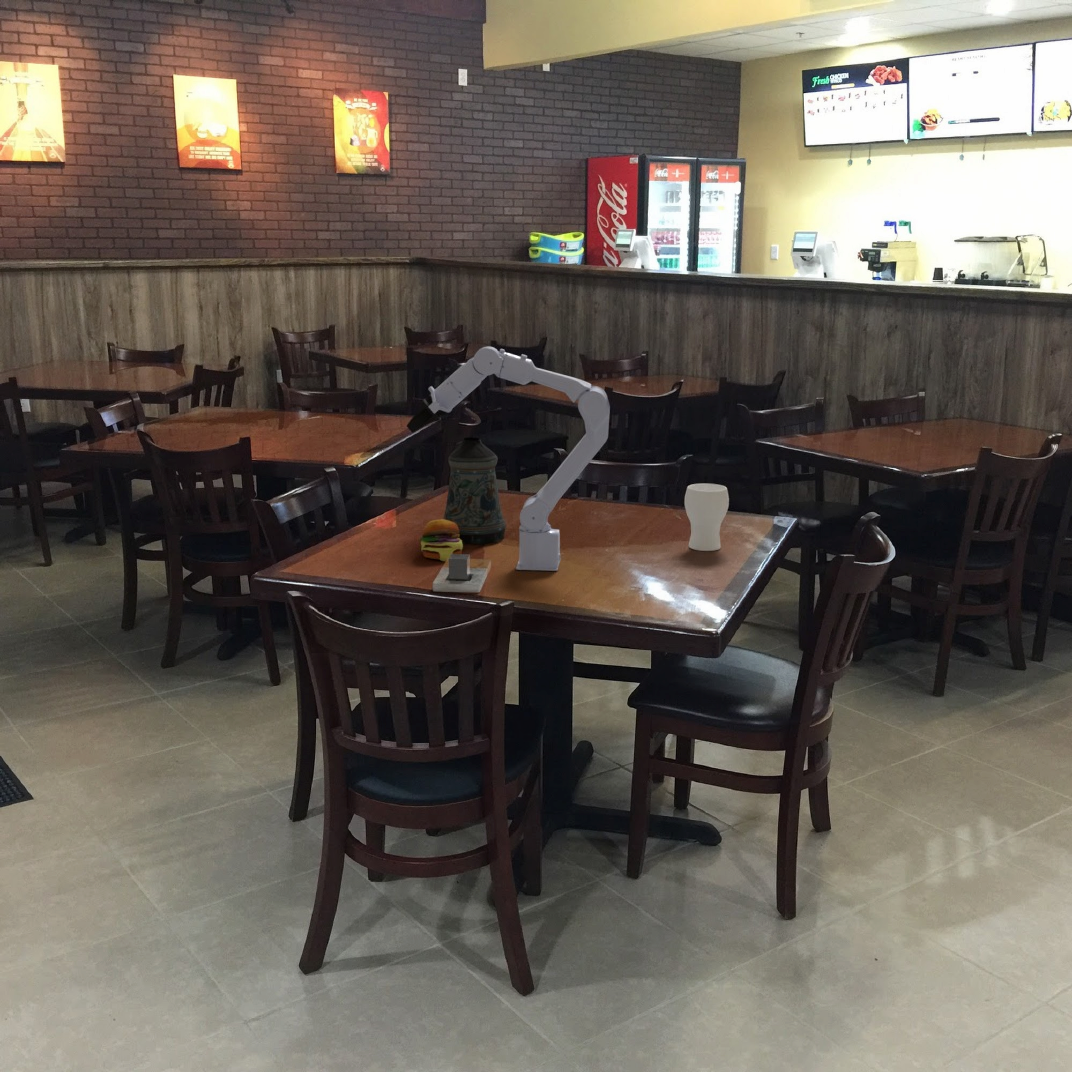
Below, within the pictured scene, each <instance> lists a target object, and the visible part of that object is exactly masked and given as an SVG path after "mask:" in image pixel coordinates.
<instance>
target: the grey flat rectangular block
mask: <svg viewBox="0 0 1072 1072" xmlns="http://www.w3.org/2000/svg"><path fill="white" fill-rule="evenodd" d="M491 568H492V559H491V558H470V581H449V558H448V559H447V560H446V561H444V563H443V566H442V567H441V569H440V570H439V572H438V574H437V575H436V577H435V579H433V582H432V592H441V593H442V592H443V593H444V592H445V593H448V592H449V593H475V594H476V593H480V592H481V591H482V588H483V586H484V584H485V581H486V579H487V576H488V575H489V572H490V570H491Z"/></svg>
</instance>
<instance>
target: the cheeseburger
mask: <svg viewBox="0 0 1072 1072" xmlns="http://www.w3.org/2000/svg"><path fill="white" fill-rule="evenodd" d="M458 533H459V529H458V526H457V524H456V523H455V522H452V521H449V520H445V519H443V518H440V519H439V518H438V519H433V520H430V521H428V523H426V525H425V526H424V528H423V529H422V532H421V537H420V545H421V553H422V554H423V557H424V558H428V559H433V560H440V561H442V562H446V560H447V559H448V558H449V557H450V556H451V554H463V547H464V545H462V540H461V539H460V538H458V537H459V534H458Z"/></svg>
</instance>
